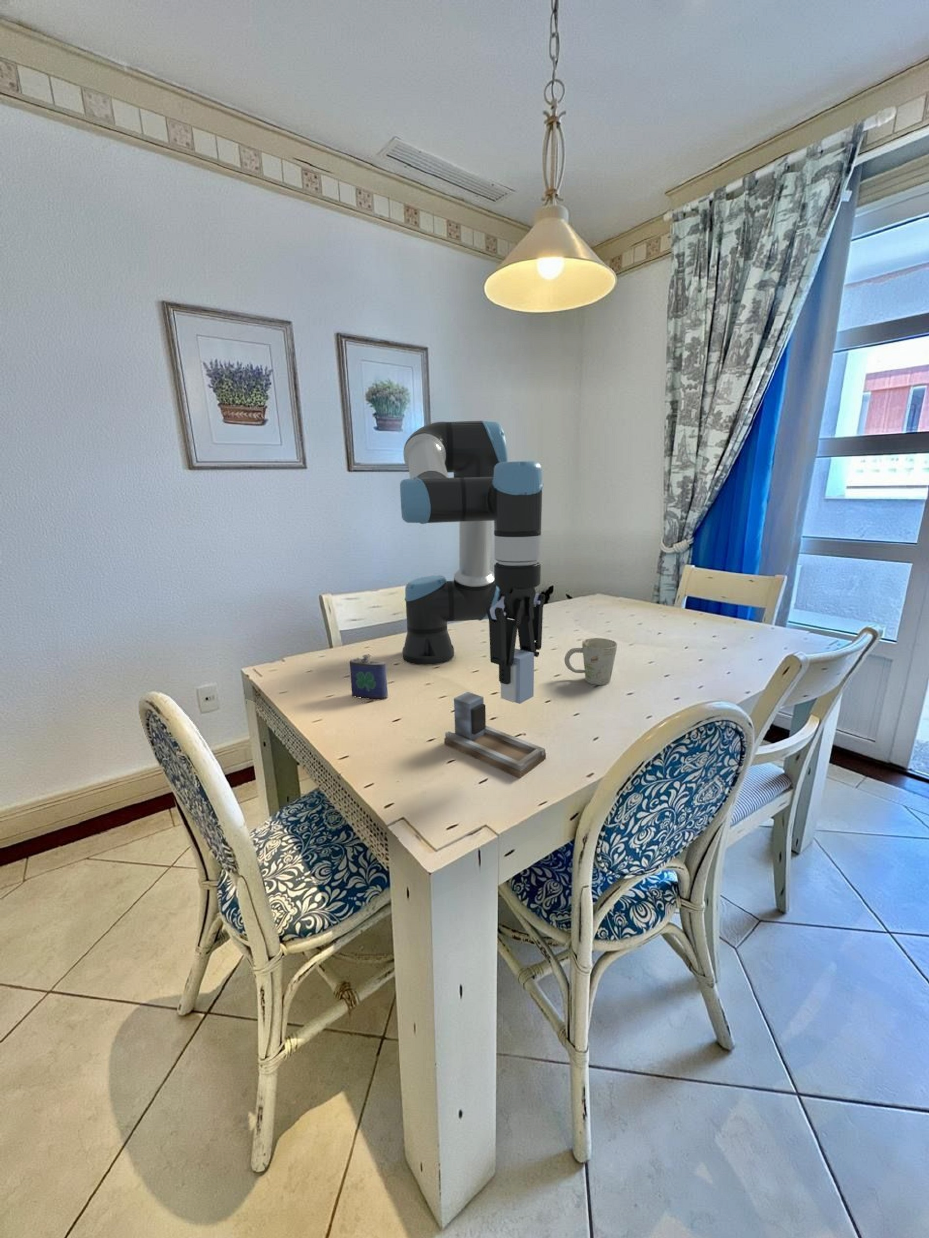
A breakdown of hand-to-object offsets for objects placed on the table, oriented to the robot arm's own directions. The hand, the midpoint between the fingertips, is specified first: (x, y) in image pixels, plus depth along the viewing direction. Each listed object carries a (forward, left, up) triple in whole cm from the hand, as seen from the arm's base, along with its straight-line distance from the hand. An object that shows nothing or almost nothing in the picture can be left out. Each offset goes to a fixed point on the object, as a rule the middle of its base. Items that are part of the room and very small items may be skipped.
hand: (516, 694), depth 86 cm
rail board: (-5, 0, -13) cm, 14 cm away
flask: (-44, 0, -13) cm, 46 cm away
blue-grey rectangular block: (0, 0, 0) cm, 0 cm away
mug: (-9, +42, -13) cm, 45 cm away
